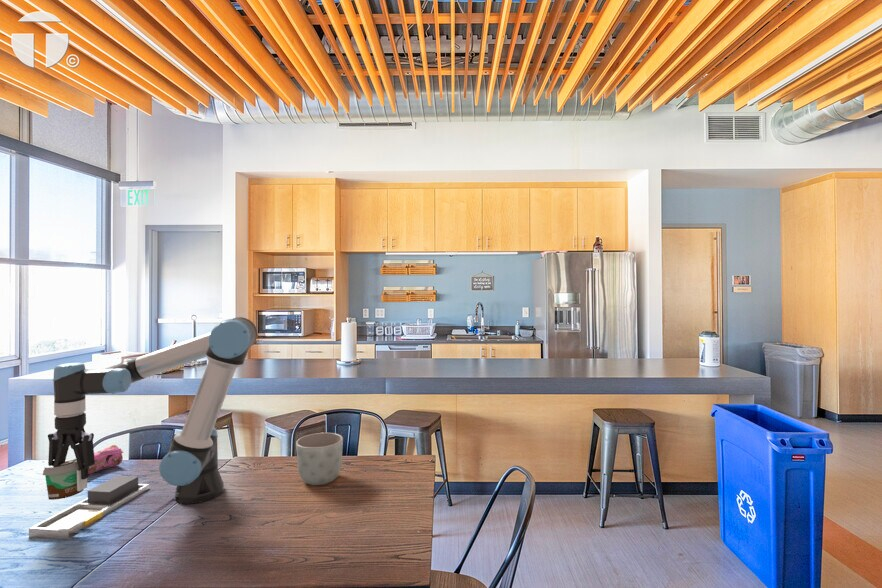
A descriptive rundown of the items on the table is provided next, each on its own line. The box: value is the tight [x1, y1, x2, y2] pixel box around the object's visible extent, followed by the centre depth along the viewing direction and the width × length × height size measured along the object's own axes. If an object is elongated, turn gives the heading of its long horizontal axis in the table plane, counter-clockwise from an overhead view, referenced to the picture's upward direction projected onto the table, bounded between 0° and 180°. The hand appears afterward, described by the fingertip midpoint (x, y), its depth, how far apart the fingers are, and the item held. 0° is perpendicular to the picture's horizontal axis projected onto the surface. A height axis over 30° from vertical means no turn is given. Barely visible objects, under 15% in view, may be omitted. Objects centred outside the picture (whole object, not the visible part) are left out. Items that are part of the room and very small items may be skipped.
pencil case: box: [52, 444, 124, 475], centre depth 179 cm, size 21×9×9 cm, turn 155°
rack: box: [28, 483, 150, 540], centre depth 149 cm, size 14×31×3 cm, turn 173°
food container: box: [42, 458, 85, 501], centre depth 142 cm, size 12×6×10 cm, turn 169°
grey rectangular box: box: [87, 475, 139, 504], centre depth 157 cm, size 8×12×5 cm, turn 173°
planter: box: [295, 432, 344, 486], centre depth 171 cm, size 17×17×15 cm
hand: (72, 488), depth 142 cm, fingers closed on food container, 6 cm apart
